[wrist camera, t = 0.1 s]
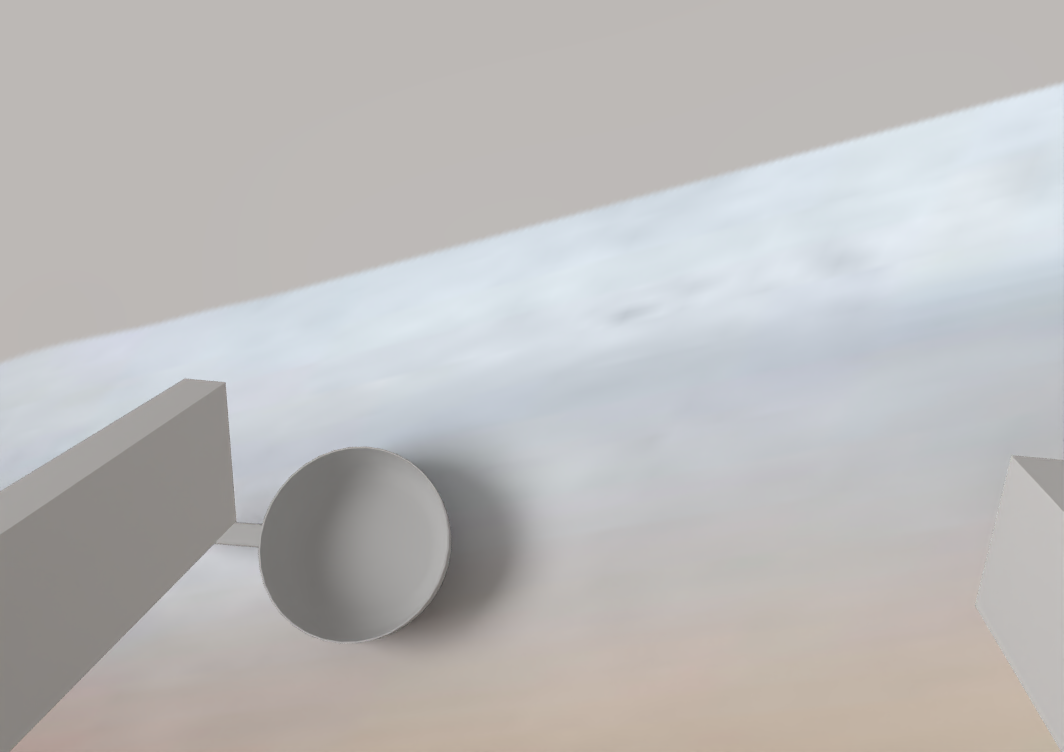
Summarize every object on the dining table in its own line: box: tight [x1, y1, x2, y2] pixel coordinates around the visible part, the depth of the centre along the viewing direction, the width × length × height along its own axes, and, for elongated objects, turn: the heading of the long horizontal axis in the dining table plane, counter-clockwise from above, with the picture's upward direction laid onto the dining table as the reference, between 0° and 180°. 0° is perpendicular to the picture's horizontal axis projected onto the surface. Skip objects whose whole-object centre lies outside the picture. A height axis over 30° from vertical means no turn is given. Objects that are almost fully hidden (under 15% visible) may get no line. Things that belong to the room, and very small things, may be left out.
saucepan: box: [214, 447, 451, 643], centre depth 50 cm, size 11×18×4 cm, turn 85°
